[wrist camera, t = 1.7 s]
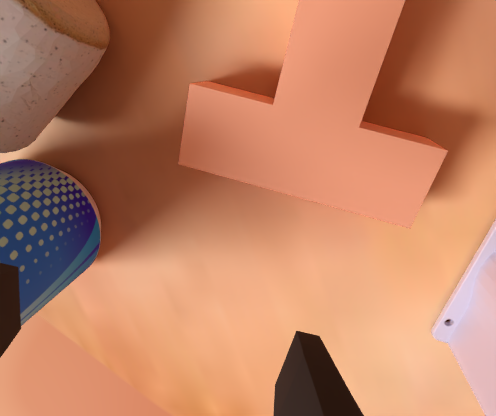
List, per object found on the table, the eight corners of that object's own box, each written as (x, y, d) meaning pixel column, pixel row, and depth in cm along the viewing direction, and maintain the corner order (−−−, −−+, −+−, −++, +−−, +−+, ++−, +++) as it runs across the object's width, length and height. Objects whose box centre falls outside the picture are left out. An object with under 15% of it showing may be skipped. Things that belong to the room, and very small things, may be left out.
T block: (395, 205, 19) (409, 228, 16) (196, 150, 20) (178, 164, 17) (497, -19, 15) (540, -38, 12) (234, -78, 15) (217, -109, 13)
